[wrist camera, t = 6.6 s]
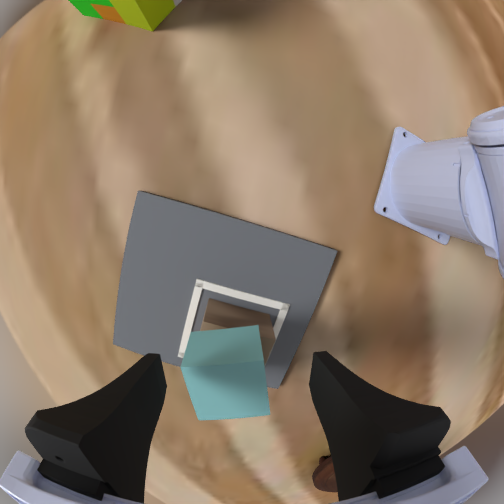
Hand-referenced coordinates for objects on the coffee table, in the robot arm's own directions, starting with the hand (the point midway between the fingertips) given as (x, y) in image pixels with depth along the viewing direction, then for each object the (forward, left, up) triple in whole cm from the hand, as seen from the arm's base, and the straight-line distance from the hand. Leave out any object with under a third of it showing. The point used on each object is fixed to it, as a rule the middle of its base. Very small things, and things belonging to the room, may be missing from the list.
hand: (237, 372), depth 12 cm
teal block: (0, +3, -6) cm, 6 cm away
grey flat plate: (+2, +1, -10) cm, 11 cm away
